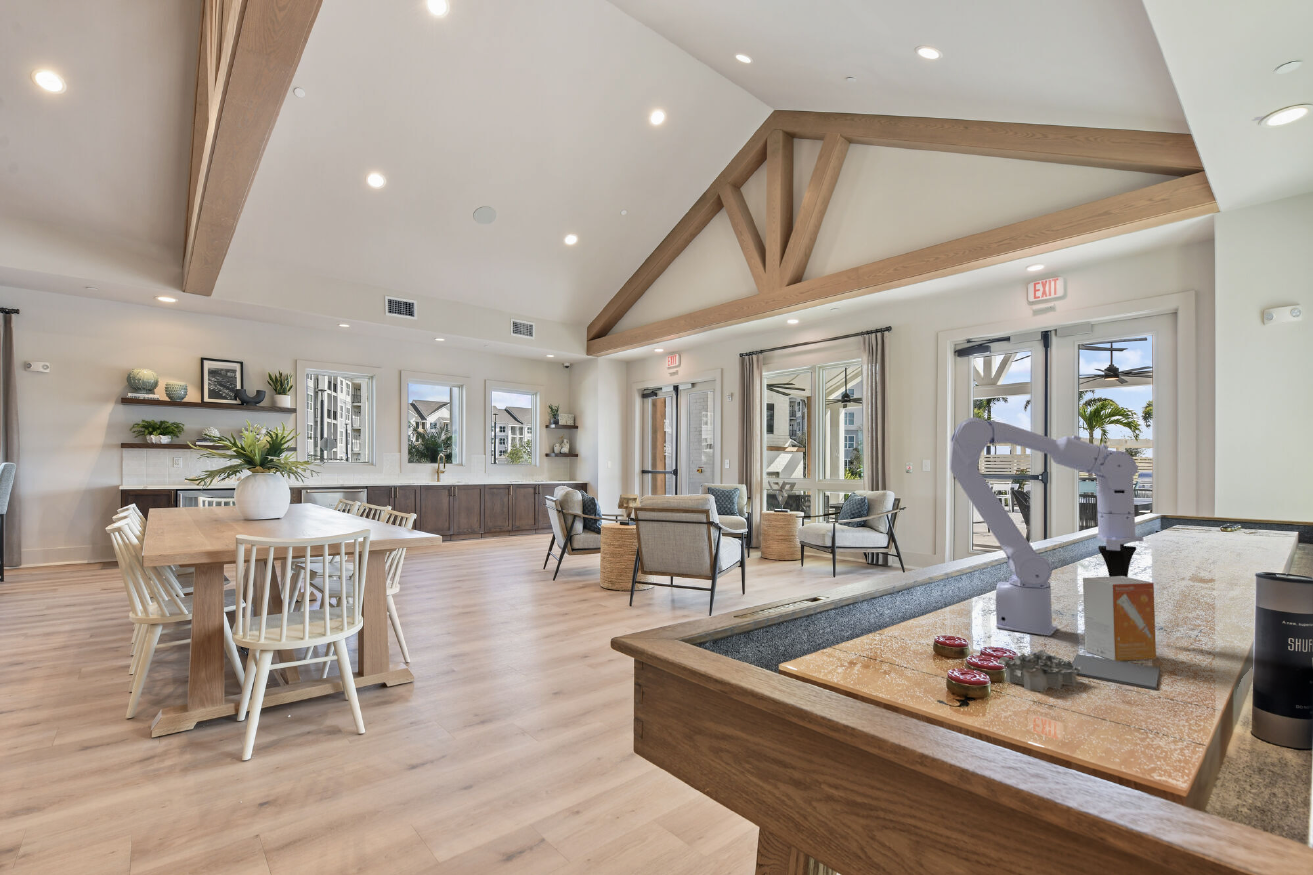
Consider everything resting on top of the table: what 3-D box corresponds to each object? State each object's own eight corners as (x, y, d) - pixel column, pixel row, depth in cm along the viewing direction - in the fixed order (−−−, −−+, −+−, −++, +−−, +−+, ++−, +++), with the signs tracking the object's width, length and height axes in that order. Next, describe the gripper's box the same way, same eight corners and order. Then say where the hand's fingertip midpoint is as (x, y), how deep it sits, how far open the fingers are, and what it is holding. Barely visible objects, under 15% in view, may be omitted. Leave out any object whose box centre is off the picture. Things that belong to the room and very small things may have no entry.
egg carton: (1035, 695, 89) (1034, 667, 89) (993, 678, 96) (992, 653, 96) (1087, 686, 92) (1086, 659, 92) (1043, 670, 99) (1042, 645, 99)
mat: (1066, 673, 97) (1066, 670, 97) (1077, 656, 105) (1077, 654, 105) (1156, 689, 90) (1156, 687, 90) (1159, 670, 98) (1159, 667, 98)
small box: (1115, 662, 102) (1112, 583, 102) (1084, 650, 108) (1081, 576, 109) (1158, 659, 103) (1154, 582, 103) (1124, 648, 109) (1121, 575, 110)
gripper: (1139, 516, 110) (1142, 593, 109) (1144, 511, 120) (1147, 580, 120) (1091, 514, 114) (1094, 588, 114) (1100, 509, 125) (1103, 576, 124)
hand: (1118, 584), depth 117 cm, fingers closed
